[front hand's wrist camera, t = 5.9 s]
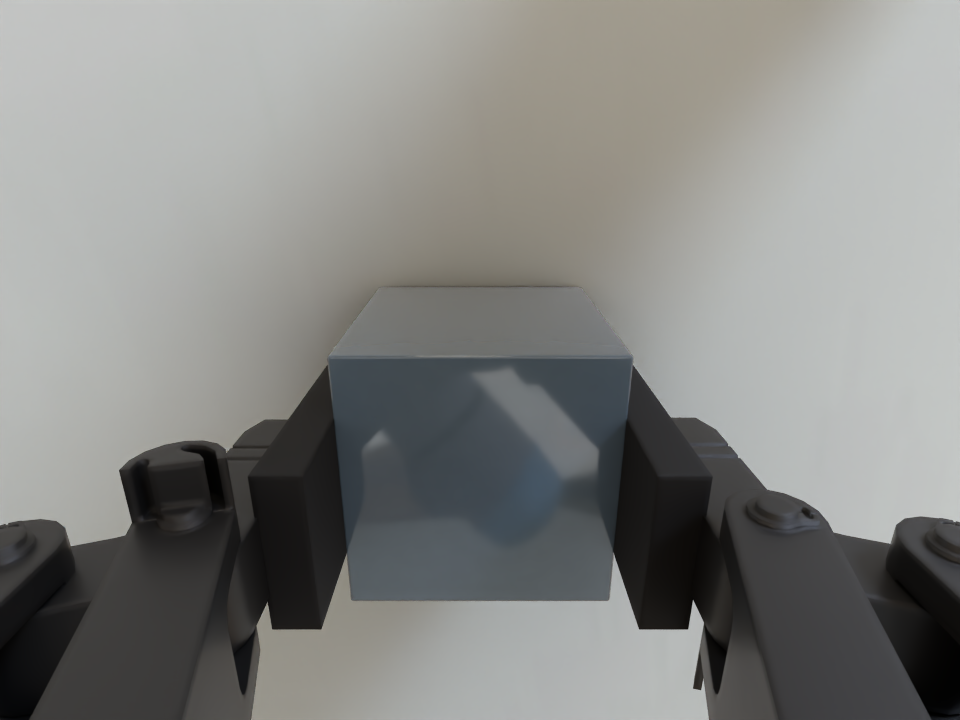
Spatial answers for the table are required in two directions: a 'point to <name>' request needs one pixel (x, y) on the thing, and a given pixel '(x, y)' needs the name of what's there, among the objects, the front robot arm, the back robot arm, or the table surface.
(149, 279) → the table surface
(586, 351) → the block
